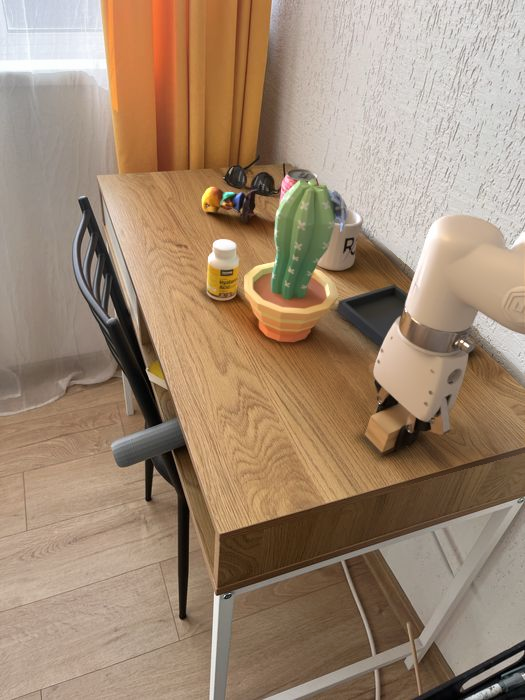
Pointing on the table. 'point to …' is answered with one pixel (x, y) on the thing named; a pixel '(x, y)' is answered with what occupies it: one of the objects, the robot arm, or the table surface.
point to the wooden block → (386, 428)
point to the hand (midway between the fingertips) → (392, 433)
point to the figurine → (229, 202)
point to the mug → (342, 243)
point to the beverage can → (296, 179)
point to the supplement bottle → (222, 270)
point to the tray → (375, 311)
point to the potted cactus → (297, 264)
